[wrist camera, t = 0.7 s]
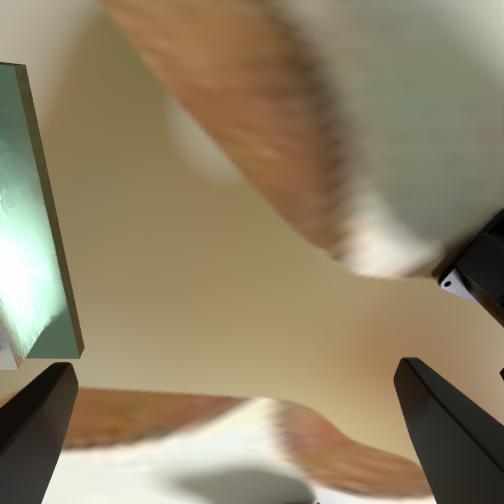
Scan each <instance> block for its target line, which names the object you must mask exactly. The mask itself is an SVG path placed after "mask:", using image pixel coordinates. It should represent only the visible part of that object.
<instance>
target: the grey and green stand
mask: <svg viewBox="0 0 504 504" xmlns="http://www.w3.org/2000/svg"><path fill="white" fill-rule="evenodd" d="M83 350H84V343H83V338H82V333H81V329H80V324H79V319H78V315H77V309H76V305H75V300H74V295H73V290H72V285H71V281H70V276H69V271H68V266H67V262H66V257H65V252H64V247H63V243H62V238H61V233H60V228H59V223H58V218H57V214H56V209H55V204H54V199H53V195H52V190H51V185H50V180H49V175H48V171H47V166H46V161H45V156H44V151H43V146H42V142H41V137H40V132H39V128H38V122H37V118H36V113H35V108H34V103H33V98H32V94H31V90H30V84H29V80H28V75H27V70H26V65H21V64H13V63H4V62H0V369H1V370H18V369H19V367H20V366H21V364H22V363H23V361H24V359H25V358H55V359H79V358H80V357H81V354H82V352H83Z"/></svg>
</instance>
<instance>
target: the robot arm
mask: <svg viewBox="0 0 504 504" xmlns="http://www.w3.org/2000/svg"><path fill="white" fill-rule="evenodd" d="M445 282H446V283H445ZM437 283H438V285H439V286H440V287H441V288H442V289H444V290H446V291H448V292H451V293H453V294H455V295H458V296H460V297H463V298H465V299H467V300H470V301H473V302H475V303H477V304H479V305H481V306H482V307H483V308H484V309H486V311H488V313H490V315H491V316H492V317H494V318H495V320H497V321H498V322H499V324H500V325H502V326H503V327H504V209H503V210H502V211H500V212H499V213H498V214H497V216H496V217H495V218H494V219H493V220H492V221H491V222H490V223H489V224H488V225H487V227H486V228H485V229H484V230H483V231H482V232H481V233H480V234H479V235H478V236H477V238H476V239H475V240H474V241H473V242H472V243H471V244H470V245H469V246H468V247H467V248H466V250H465V251H464V252H463V253H462V254H461V255H460V256H459V257H458V258H457V259H456V261H455V262H454V263H453V264H452V265H451V266H450V267H449V268H448V269H447V270H446V271H445V273H444V274H443V275H442V276H441V277H440V278H439V280H438V282H437ZM500 375H501V376H502V378H503V380H504V368H503V369H502V370H501V371H500ZM394 385H395V389H396V392H397V395H398V398H399V402H400V406H401V409H402V412H403V416H404V419H405V423H406V426H407V429H408V432H409V435H410V438H411V441H412V444H413V446H414V449H415V451H416V454H417V456H418V458H419V460H420V463H421V466H422V468H423V471H424V473H425V476H426V478H427V481H428V483H429V486H430V488H431V490H432V493H433V495H434V498H435V500H436V503H437V504H504V426H503V425H502V424H501V423H499V422H498V421H497V420H496V419H495V418H493V417H492V416H491V415H489V414H488V413H487V412H486V411H484V410H483V409H482V408H481V407H479V406H478V405H477V404H476V403H474V402H473V401H472V400H470V399H469V398H468V397H467V396H466V395H464V394H463V393H462V392H460V391H459V390H458V389H457V388H456V387H454V386H453V385H452V384H450V383H449V382H448V381H446V380H445V379H444V378H443V377H442V376H440V375H439V374H438V373H437V372H435V371H434V370H433V369H432V368H430V367H429V366H428V365H426V364H425V363H424V362H423V361H422V360H420V359H419V358H417V357H403V358H402V359H401V360H400V362H399V365H398V367H397V370H396V372H395V375H394ZM77 392H78V380H77V377H76V374H75V372H74V368H73V365H72V364H71V363H70V362H56V363H53V364H51V365H50V366H49V367H48V368H47V369H45V370H44V371H43V372H42V373H41V374H39V375H38V376H37V377H36V378H35V379H33V380H32V381H31V382H30V383H29V384H28V385H26V386H25V387H24V388H23V389H22V390H21V391H19V392H18V393H17V394H16V395H15V396H13V397H12V398H11V399H10V400H9V401H8V402H6V403H5V404H4V405H3V406H2V407H1V408H0V504H41V503H42V500H43V498H44V495H45V492H46V490H47V487H48V485H49V482H50V479H51V477H52V474H53V472H54V469H55V466H56V464H57V461H58V459H59V456H60V453H61V450H62V447H63V443H64V440H65V436H66V433H67V429H68V425H69V421H70V418H71V414H72V410H73V407H74V403H75V399H76V396H77Z"/></svg>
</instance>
